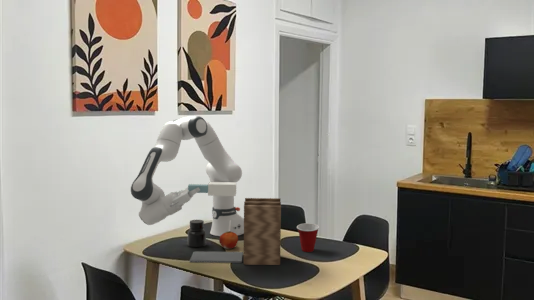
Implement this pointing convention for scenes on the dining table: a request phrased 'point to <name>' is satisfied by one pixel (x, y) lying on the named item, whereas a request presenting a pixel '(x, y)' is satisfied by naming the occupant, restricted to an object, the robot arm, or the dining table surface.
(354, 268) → the dining table surface
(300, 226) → the plastic cup
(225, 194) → the block
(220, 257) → the mat
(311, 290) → the dining table surface
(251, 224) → the stand
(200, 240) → the ink bottle
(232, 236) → the tomato
